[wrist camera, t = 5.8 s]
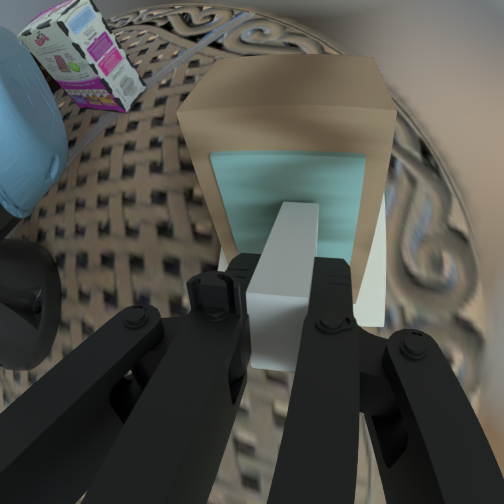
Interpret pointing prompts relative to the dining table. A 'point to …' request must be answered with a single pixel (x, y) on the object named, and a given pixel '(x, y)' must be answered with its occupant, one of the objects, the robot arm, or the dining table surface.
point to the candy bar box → (84, 56)
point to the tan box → (292, 148)
